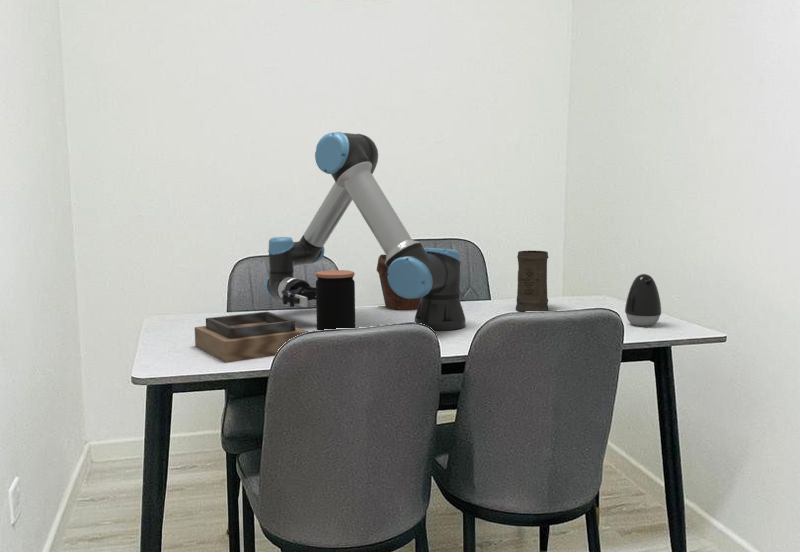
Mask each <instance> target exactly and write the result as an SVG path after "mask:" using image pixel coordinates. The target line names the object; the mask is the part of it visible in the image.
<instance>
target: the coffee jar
mask: <svg viewBox="0 0 800 552" xmlns="http://www.w3.org/2000/svg"><path fill="white" fill-rule="evenodd" d="M354 276H355V271H352V270H346V269H345V270H342V269H340V270H339V269H337V270H336V269H333V270H332V269H330V270H320V271H317V272H315V277H316V278H317V280H316V281H315V288H316V296H315V297H316V300H315V303H316V304H315V305H316V307H315V308H316V331H317V330H324V329H336V328H355V329H356V284H355V279H354Z"/></svg>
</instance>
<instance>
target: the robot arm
mask: <svg viewBox="0 0 800 552" xmlns="http://www.w3.org/2000/svg"><path fill="white" fill-rule="evenodd" d="M314 159H315V163H316V166H317V167H318V169H319V170H320V171H321V172H322V173H325V174H327V175H331V177H332V178H333V180H334V183H333V185H332V186H331V188H330V190H329V191H328V193H327V195H326V196H325V198H324V199H323V202H322V203H321V205H320V206H319V208H318V210H317V211H316V212H315V215H314V216H313V218H312V220H311V221H310V223H309V225H308V227H307V228H306V230H305V232H303V234H302V236H301V238H300V239H299V240H298V241H293V238H292V237H291V236H276V237H275V236H274V237H271V238H270V239H269V240H268V249H267V251H268V267H269V268H268V271H269V273H268V277H267V278H266V280H265V282H264V290H265V292H266V294H268V295H269V296H270V297H272V298H274V299H277V300H281V301H282V305H288V303H289V307H291V308H292V307H295V305H296V306H299V307H303V308H308V307H309V305H308V303H309V301H312V300H315V301H316V287H313V286H311V285H310V284H309V282H307V281H306V280H303V279H299V278H296V277H294V271H295V270H294V269H295V268H294V266H302V265H306V264H314V263H318V262H319V261H321V260H322V259H323V258H324V256H325V244H326V243H327V241H328V240H329V238H330V237H331V234H332V233H333V232H334V231H335V229H336V227H337V225H338V223H340V221H341V219H342V218H343V216H344V214H345V213H346V211H347V209H348V207H349V206H350V205H351V203H352V201H353V203H354V205H355V207H356V208H357V210H358V211H359V213H360V215H361V217H362V218H363V220H364V221H365V222H366V225H367V226H368V228H369V229H370V231H371V233H372V235H374V237H375V239H376V241H377V242H378V244H379V246H380V248H381V249H382V251H383V252H384V255H386V256H387V258H386V262H385V264H386V266H387V268H388V272H387V273H388V276H387V279H388V283H389V285H390V287H391V289H392V290H393V291H394V292H395V293H396V294H397V295H399V296H401V297H403V298H408V299H412V298H420V303H419V306H418V309H416V312H415V315H414V323H415V322H416V323H422V324H425V325H427V326H429V327H431V328H432V329H433V330H432V331H454V330H459V329H462V328H465V327H466V326H467V325H466V324H467V323H466V320H467V319H466V316H465V313H464V309H463V306H462V304H461V300H460V298H461V297H460V294H461V291H460V289H461V258H460V256H461V255H460V252H459V250H457V249H451V248H438V247H437V248H436V247H435V248H434V247H424V246H423V244H422V242H421V241H417V240H414V239H413V238H412V237H411V235H410V233H409V232H408V230H407V229H406V227H405V226H404V224H403V222H402V221H401V219H400V218H399V216H398V214H397V212H396V211H395V209H394V208H393V206H392V204H391V203H390V201H389V200H388V198H387V196H386V195H385V193H384V191H383V190H382V188H381V187H380V185H379V183H378V182H377V180H376V179H375V177H374V175H373V174H374V172H375V170H376V167H377V165H378V160H379V149H378V148H377V145H376V143H375V142H374V140H372V139H371V137H369V136H367V135H365V134H362V133H351V132H349V133H348V132H341V131H335V132H334V131H333V132H328V133H326V134H324V135H323V136H322V137H321V138H320V139H319V140H318V142H317V144H316V148H315V151H314Z"/></svg>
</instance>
